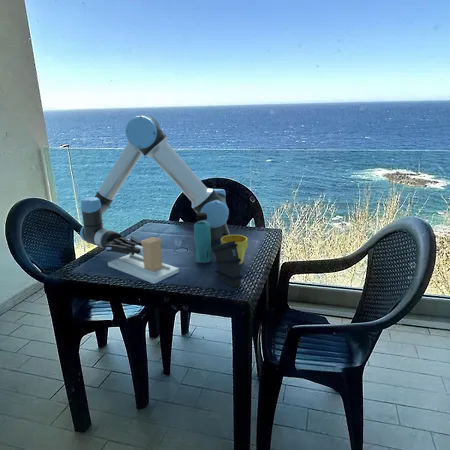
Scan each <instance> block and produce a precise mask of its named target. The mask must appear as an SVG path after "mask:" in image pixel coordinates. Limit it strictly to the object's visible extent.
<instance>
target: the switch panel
mask: <svg viewBox="0 0 450 450" xmlns="http://www.w3.org/2000/svg"><path fill="white" fill-rule="evenodd" d="M107 266H108V267H110V268H112V269H116V270H118V271H120V272H123V273H126V274H128V275H131V276H133V277H136V278H138V279H140V280H143V281H146V282H149V283H150V284H154V285H155V284H158V283H160V282H161V281H163V280H166V279H167V278H170V277H171V276H174V275H175V274H177V273H180V272H179V268H178V267H176V266H173V265H170V264H168V263H167V264H166V263H165V262H162V268H160V269H158V270H155V271H151V270H148V269H145V268H144V258H143V255H140V254H137V253H134V255H131V253H129V254H125V255H123V256H121V257H118V258H115V259H112V260H111V261H108V262H107Z"/></svg>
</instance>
